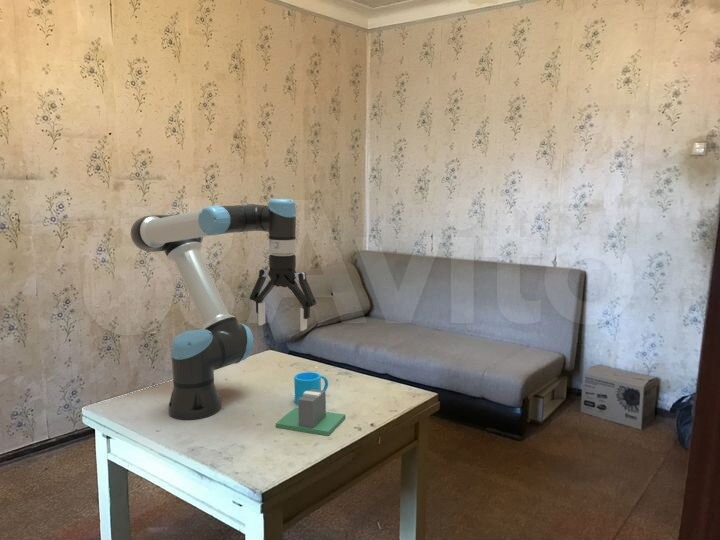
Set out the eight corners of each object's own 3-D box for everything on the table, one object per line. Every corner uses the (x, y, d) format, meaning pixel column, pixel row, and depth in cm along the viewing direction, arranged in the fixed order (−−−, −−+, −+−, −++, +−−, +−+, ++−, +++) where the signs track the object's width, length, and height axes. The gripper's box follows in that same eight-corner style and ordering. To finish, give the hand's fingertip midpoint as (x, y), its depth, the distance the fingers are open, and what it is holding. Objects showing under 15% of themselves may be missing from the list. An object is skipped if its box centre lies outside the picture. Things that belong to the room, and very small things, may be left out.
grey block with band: (298, 425, 149) (297, 397, 148) (311, 414, 157) (311, 386, 156) (313, 428, 147) (313, 399, 146) (326, 416, 155) (325, 388, 154)
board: (275, 427, 151) (275, 411, 150) (295, 411, 162) (295, 396, 161) (328, 435, 145) (328, 419, 145) (345, 418, 157) (345, 402, 156)
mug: (305, 408, 164) (304, 382, 163) (289, 401, 170) (289, 376, 169) (335, 398, 172) (335, 373, 171) (320, 391, 178) (319, 367, 177)
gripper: (237, 252, 154) (238, 325, 158) (316, 258, 146) (316, 335, 149) (251, 249, 161) (252, 319, 165) (328, 255, 153) (327, 328, 156)
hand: (282, 327), depth 157 cm, fingers open, 13 cm apart
